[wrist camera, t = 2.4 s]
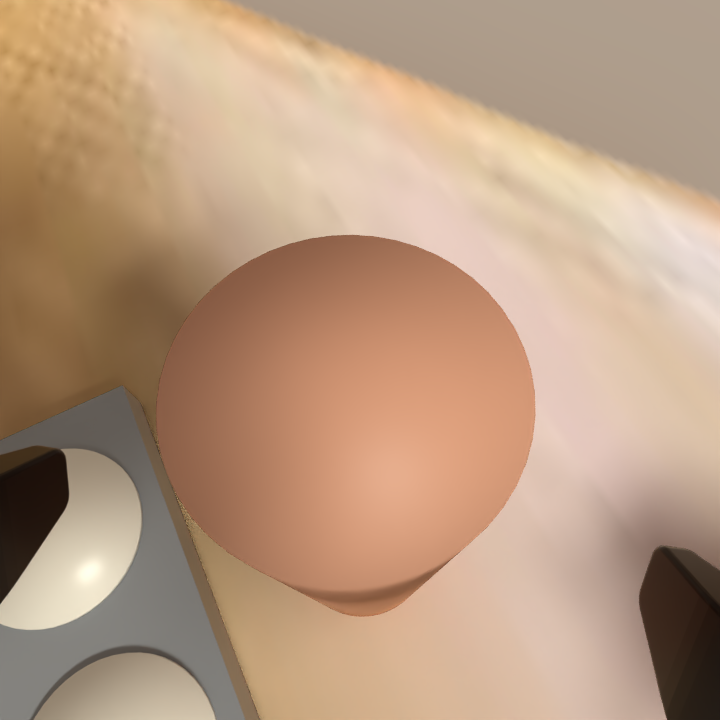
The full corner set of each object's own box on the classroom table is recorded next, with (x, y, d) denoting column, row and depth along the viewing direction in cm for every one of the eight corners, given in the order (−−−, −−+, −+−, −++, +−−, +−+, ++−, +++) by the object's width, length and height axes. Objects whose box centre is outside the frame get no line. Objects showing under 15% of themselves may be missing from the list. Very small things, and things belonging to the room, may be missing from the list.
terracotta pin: (454, 572, 16) (616, 461, 6) (332, 644, 16) (243, 677, 5) (388, 454, 18) (413, 190, 7) (274, 514, 17) (108, 319, 6)
